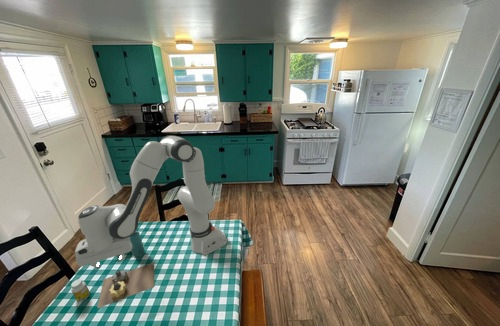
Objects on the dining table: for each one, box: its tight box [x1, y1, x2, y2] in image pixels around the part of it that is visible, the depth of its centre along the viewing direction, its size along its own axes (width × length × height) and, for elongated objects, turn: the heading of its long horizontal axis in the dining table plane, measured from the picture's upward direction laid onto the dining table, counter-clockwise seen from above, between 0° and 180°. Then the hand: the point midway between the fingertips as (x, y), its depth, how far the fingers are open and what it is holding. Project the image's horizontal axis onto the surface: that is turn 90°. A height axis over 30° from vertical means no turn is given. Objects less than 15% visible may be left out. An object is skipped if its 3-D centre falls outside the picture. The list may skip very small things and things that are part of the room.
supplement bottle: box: [70, 278, 91, 302], centre depth 97 cm, size 5×5×10 cm
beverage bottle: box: [129, 230, 146, 258], centre depth 117 cm, size 6×7×20 cm
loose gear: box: [109, 281, 126, 298], centre depth 98 cm, size 6×6×3 cm
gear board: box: [97, 262, 155, 309], centre depth 102 cm, size 24×16×6 cm, turn 115°
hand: (110, 263), depth 93 cm, fingers open, 8 cm apart
